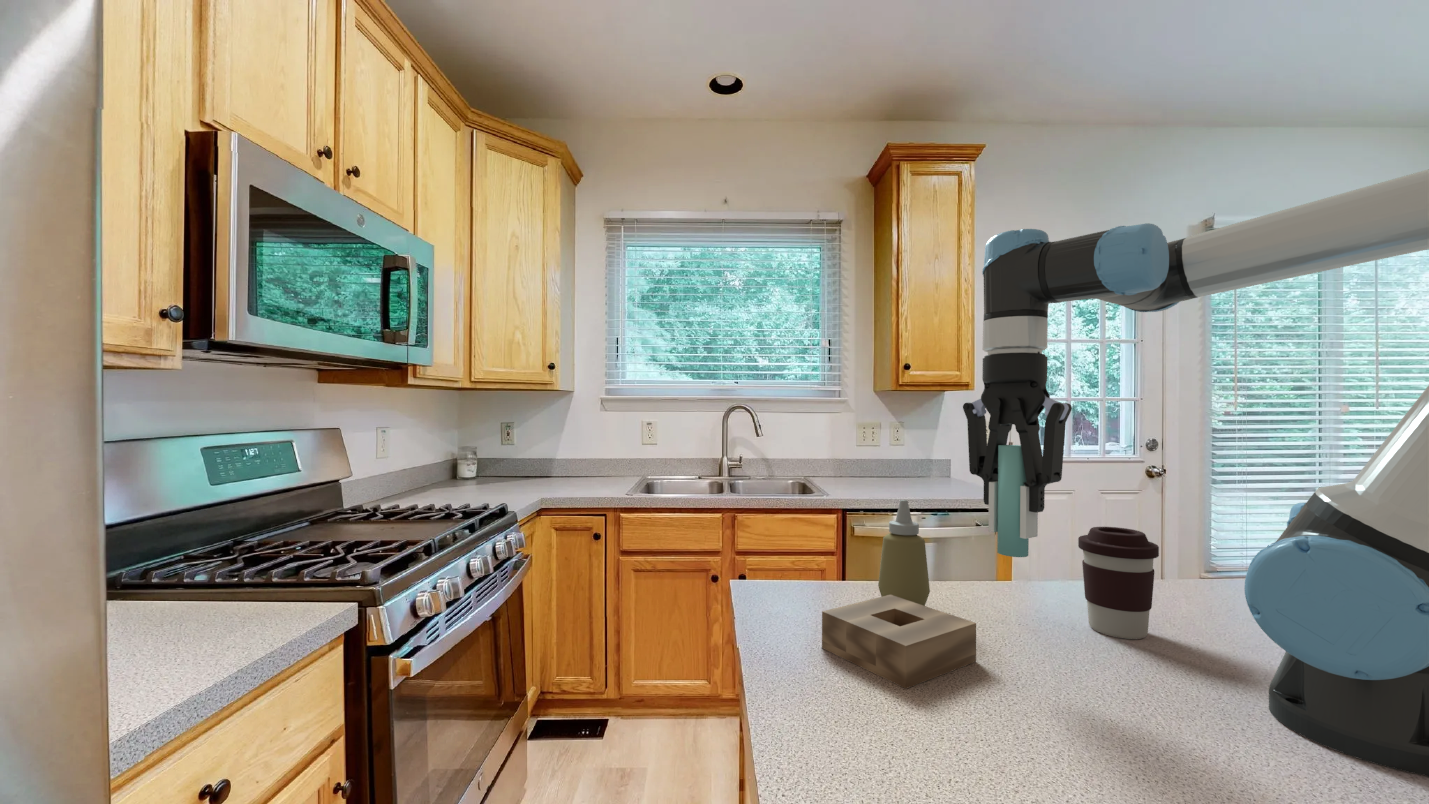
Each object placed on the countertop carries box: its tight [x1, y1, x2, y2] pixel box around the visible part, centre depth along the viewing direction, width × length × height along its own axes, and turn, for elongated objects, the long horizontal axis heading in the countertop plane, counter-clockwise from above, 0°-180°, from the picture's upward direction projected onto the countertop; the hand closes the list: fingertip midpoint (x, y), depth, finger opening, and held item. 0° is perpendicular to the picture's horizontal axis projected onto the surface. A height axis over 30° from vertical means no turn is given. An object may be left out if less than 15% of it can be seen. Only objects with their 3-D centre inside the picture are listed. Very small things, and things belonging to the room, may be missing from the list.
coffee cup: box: [1077, 526, 1160, 640], centre depth 88 cm, size 10×10×15 cm
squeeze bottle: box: [878, 499, 931, 606], centre depth 96 cm, size 8×8×18 cm
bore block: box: [821, 595, 977, 690], centre depth 78 cm, size 14×14×5 cm
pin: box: [996, 444, 1030, 558], centre depth 76 cm, size 4×4×14 cm
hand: (1012, 533), depth 76 cm, fingers closed on pin, 3 cm apart
